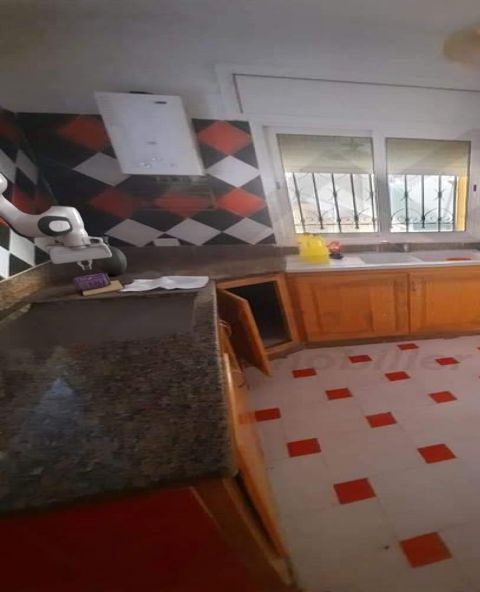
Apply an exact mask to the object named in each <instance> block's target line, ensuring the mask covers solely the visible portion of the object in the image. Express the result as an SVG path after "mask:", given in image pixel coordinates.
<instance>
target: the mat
mask: <svg viewBox="0 0 480 592" xmlns="http://www.w3.org/2000/svg"><path fill="white" fill-rule="evenodd" d="M110 282H111V285H109V286H107V287H102V288H97V289H92V290H87V291H83V292H82V295H83V296H84V297H85V296H90V295H97V294H103V293H108V292H113V291H114V292H115V291H118V290H119V291H120V290H124V286H123V284H121V282H120V281H119V280H118V279H116V280H110Z"/></svg>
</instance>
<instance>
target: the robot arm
mask: <svg viewBox="0 0 480 592" xmlns="http://www.w3.org/2000/svg"><path fill="white" fill-rule="evenodd" d="M7 188H8V179H6V177H5V176H4V175H3V174H2V172H0V219H1V220H2V221H4V222H5V223H6V225H7V226H8V227H9V229H10V230H11V231H12V232H13V233H14V234H16V235H17V236H19V237H21V238H25V239H36V238H37V239H38V238H57V237H60V240H61V241H62V242H55V243H48V244H46V245H45V246H44V250H45V252H46V253H47V254H48V255H49V259H50V261H51V263H52V264H54V265H60V264H61V265H62V264H68V263H75V262H76V264H77V265H78V266H80V267H81V268H82V270H83V271H88V270H93V269H92V264H93V260H95V259H100V258H108V257H111V256H112V254H111V252H110V250H109V248H108V246H107V245H106V244H105V243H103V239H102V238H99V237H100V236H99V237H98V236H90V235H88V232H87V231H86V229H85V224H84V221H83V218H82V217H81V214H80V212H79V211H78V210H77V208H76V207H74V206H70V205H51V206H50V208H49V209H47V210H46V211H45V212H42V213H40V214H29V213H25V212H23V211H22V210H20V209H18V208H17V207H16V206H15V205H14V204H13V203H11V202H10V201H9V200H7V199H6V198H5V196H4V195H3V193H4V192H5V191H6V190H7ZM84 261H87V263H88V264H87V265H83V264H82V262H84Z"/></svg>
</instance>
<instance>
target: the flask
mask: <svg viewBox="0 0 480 592" xmlns="http://www.w3.org/2000/svg"><path fill="white" fill-rule="evenodd" d="M99 238H102V239H103V243H105V244H106V245H107V246H108V248H109V250H110V252H111V254H112V256H111V257H108V258H100V259H94V260H95V263H96V265H97V267H98V269H100V270H101V272H102V273H107V275H109V276H120V275H122V274H123V273H124V272H125V270H126V268H127V266H128V261H127V257H126V256H125V254H124V253H123V251H121V250H120V249H119V248H117V247H115V246H112V245H110V244H109V241H108V239H110V237H109V236H99Z"/></svg>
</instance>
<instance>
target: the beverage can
mask: <svg viewBox="0 0 480 592" xmlns="http://www.w3.org/2000/svg"><path fill="white" fill-rule="evenodd" d="M110 281H111V280H110V277H109V274H107V273H105V272H99V273H93V274H87V275H81V276H76V277H73V279H72V282H73V284H74V286H75V289H76V290H77V291H78V292H80V293H83V291H87V290H92V289H97V288H102V287H107V286H109V285H111V282H110Z"/></svg>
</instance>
